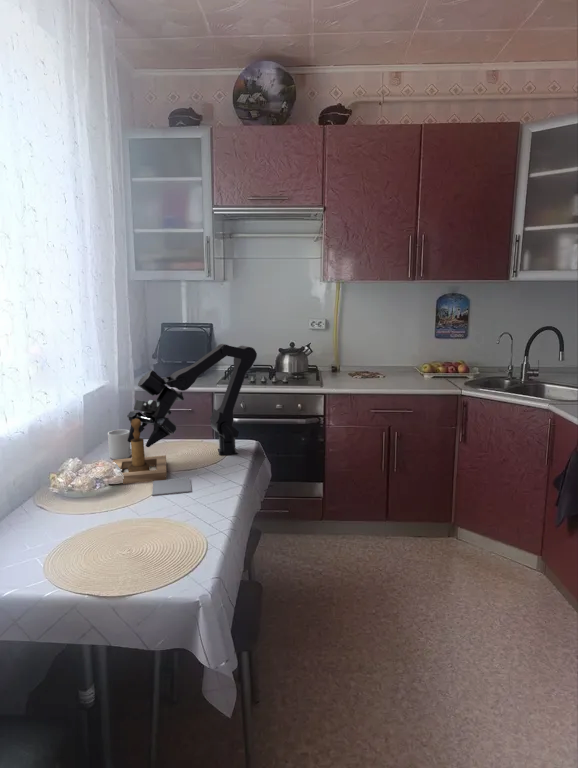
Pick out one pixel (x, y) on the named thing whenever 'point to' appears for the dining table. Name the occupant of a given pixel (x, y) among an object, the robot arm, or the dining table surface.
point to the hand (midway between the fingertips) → (137, 444)
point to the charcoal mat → (171, 486)
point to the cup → (119, 444)
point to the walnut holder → (144, 475)
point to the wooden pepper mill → (137, 450)
